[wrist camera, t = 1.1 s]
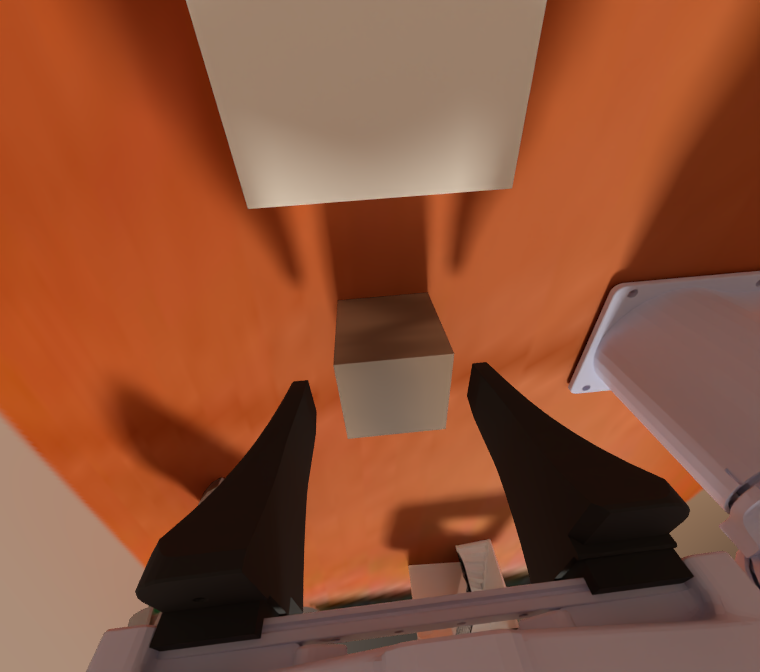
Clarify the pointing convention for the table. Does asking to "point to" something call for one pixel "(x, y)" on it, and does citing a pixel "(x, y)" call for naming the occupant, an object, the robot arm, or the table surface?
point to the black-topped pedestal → (460, 583)
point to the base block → (369, 94)
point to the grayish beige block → (392, 365)
